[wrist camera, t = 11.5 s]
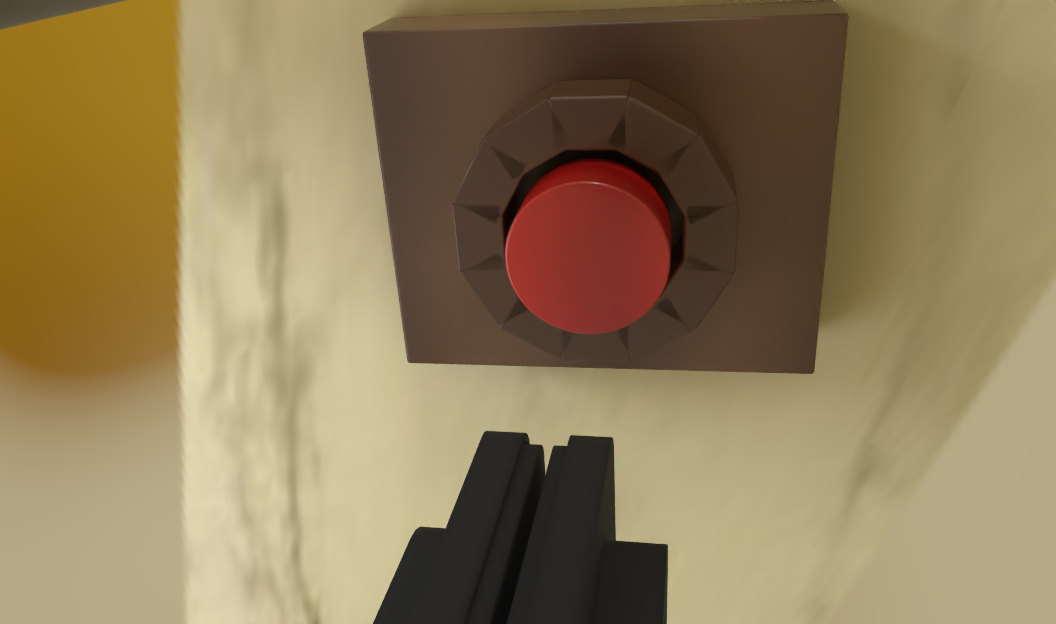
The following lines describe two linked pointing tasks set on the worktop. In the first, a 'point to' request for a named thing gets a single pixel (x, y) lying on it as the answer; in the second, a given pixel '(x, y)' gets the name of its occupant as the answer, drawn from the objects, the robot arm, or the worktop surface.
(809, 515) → the worktop surface
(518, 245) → the button
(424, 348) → the button box
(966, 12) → the worktop surface
